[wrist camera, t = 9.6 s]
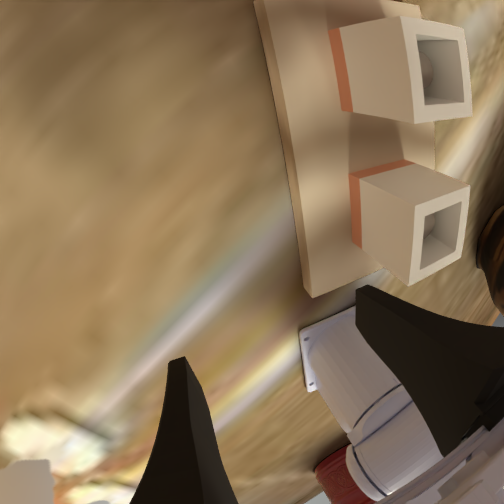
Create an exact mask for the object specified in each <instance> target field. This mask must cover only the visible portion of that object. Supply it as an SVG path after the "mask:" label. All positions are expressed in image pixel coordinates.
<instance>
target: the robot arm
mask: <svg viewBox="0 0 504 504" xmlns="http://www.w3.org/2000/svg"><path fill="white" fill-rule="evenodd" d="M299 338H300V345H301V352H302V360H303V367H304V375H305V383H306V389H307V391H308V392H312V391H314V390H318V391H319V393H320V394H321V396H322V398H323V399H324V401H325V402H326V404H327V406H328V407H329V409H330V410H331V412H332V414H333V415H334V417H335V418H336V420H337V422H338V423H339V425H340V426H341V428H342V429H343V430H344V431H345V432H346V433H348V434H347V437H348V438H349V440H350V442H351V443H352V444H351V445H349V446H348V447H347V450H346V464H347V468H348V470H349V472H350V474H351V476H352V478H353V479H354V481H355V482H356V484H357V485H358V487H359V488H360V489H361V490H362V491H363V492H364V493H365V494H366V495H367V496H368V497H370V498H371V499H373V500H375V501H377V502H376V503H374V504H504V489H503V488H502V487H503V486H504V327H494V326H485V325H478V324H473V323H468V322H463V321H459V320H455V319H452V318H448V317H445V316H441V315H438V314H436V313H433V312H430V311H427V310H425V309H422V308H420V307H417V306H415V305H412V304H410V303H408V302H406V301H403V300H401V299H399V298H397V297H395V296H392V295H390V294H388V293H386V292H384V291H382V290H379V289H377V288H375V287H373V286H370V285H365V286H363V287H361V288H359V289H357V290H356V306H354V307H351V308H349V309H347V310H345V311H343V312H340V313H338V314H336V315H334V316H331V317H329V318H327V319H325V320H322V321H320V322H318V323H315V324H313V325H311V326H308V327H306V328H304V329H302V330H301V331H300V333H299ZM130 504H238V502H237V499H236V497H235V495H234V492H233V490H232V487H231V485H230V482H229V480H228V477H227V475H226V472H225V470H224V467H223V464H222V461H221V457H220V454H219V450H218V445H217V441H216V437H215V433H214V429H213V424H212V420H211V416H210V411H209V408H208V405H207V402H206V399H205V396H204V393H203V390H202V387H201V385H200V383H199V381H198V380H197V378H196V376H195V374H194V372H193V371H192V369H191V367H190V365H189V363H188V361H187V359H186V358H185V356H184V357H181V358H178V359H175V360H172V361H170V362H169V363H168V374H167V383H166V391H165V397H164V403H163V409H162V414H161V418H160V423H159V427H158V432H157V435H156V439H155V443H154V446H153V449H152V452H151V455H150V458H149V461H148V464H147V466H146V469H145V472H144V474H143V477H142V479H141V481H140V483H139V485H138V487H137V490H136V492H135V494H134V496H133V498H132V500H131V502H130Z"/></svg>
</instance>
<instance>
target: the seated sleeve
mask: <svg viewBox="0 0 504 504" xmlns="http://www.w3.org/2000/svg"><path fill="white" fill-rule="evenodd" d="M348 178H349V190H350V205H351V224H352V242H353V243H354V244H356V245H357V246H358V247H359V248H361V249H362V250H363V251H365V252H366V253H367V254H368V255H370V256H371V257H372V258H373V259H375V260H376V261H377V262H378V263H380V264H381V265H382V266H383V267H385V268H386V269H387V270H388V271H390V272H391V273H392V274H393V275H395V276H396V277H397V278H398V279H399V280H401V281H402V282H403V283H404V284H405V285H407V286H408V287H409V286H411V285H413V284H414V283H416V282H418V281H420V280H422V279H424V278H426V277H427V276H429V275H431V274H433V273H435V272H436V271H438V270H440V269H442V268H444V267H445V266H447V265H449V264H451V263H452V262H454V261H456V260H457V259H459V258H461V254H462V248H463V242H464V236H465V229H466V222H467V214H468V205H469V195H470V185H469V184H466V183H464V182H462V181H459V180H457V179H455V178H452V177H450V176H447V175H445V174H442V173H440V172H437V171H435V170H432V169H430V168H427V167H424V166H422V165H419V164H416V163H414V162H411V161H408V160H405V159H403V160H399V161H395V162H391V163H387V164H383V165H379V166H375V167H371V168H368V169H364V170H360V171H356V172H353V173H349V174H348ZM432 213H434V215H435V224H434V227H433V229H432V231H431V233H430V234H429V235H428V236H427V237H426V238H425V239H423V233H424V220H425V216H427V215H429V214H432Z"/></svg>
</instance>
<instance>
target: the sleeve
mask: <svg viewBox="0 0 504 504" xmlns="http://www.w3.org/2000/svg"><path fill="white" fill-rule="evenodd" d="M328 35H329V40H330V45H331V50H332V55H333V60H334V66H335V71H336V77H337V83H338V90H339V96H340V103H341V110H342V111H347V112H354V113H360V114H366V115H372V116H378V117H383V118H388V119H393V120H398V121H403V122H408V123H412V124H418V123H425V122H432V121H439V120H446V119H454V118H462V117H471V116H472V95H471V81H470V71H469V62H468V54H467V46H466V40H465V34H464V28H461V27H457V26H453V25H449V24H444V23H439V22H434V21H429V20H424V19H418V18H412V17H405V16H396V17H389V18H383V19H378V20H373V21H367V22H363V23H358V24H353V25H349V26H345V27H340V28H336V29H332V30H328ZM418 51H420V52H423V53H424V54H426V55H427V56H428V58H429V59H430V61H431V63H432V67H433V79H432V82H431V84H430V85H429V86H428V87H426V88H423V82H422V74H421V66H420V58H419V52H418Z"/></svg>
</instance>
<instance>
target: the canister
mask: <svg viewBox="0 0 504 504" xmlns="http://www.w3.org/2000/svg"><path fill="white" fill-rule="evenodd" d="M351 444H352V443H351ZM351 444H349V445H351ZM349 445H347V446H345V447H343V448H341V449H340V450H338V451H336V452H335V453H333V454H332V455H330V456H329V457H327V458H326V459H325V460H323V461H322V462H321V463H320V464H319V465H318V466H317V467H316V469H315V471H314V472H315V475H316V479H317V480H318V483H319V484H320V485H321V486H322V488H323V490H324V492H325V494H326V496H327V497H328V499H329V501H330V503H331V504H374V503H376V502H377V501H375V500H373V499H371V498H370V497H368V496H367V495H366V494H365V493H364V492H363V491H362V490H361V489H360V488H359V487H358V485H357V484H356V482H355V481H354V479H353V478H352V476H351V474H350V472H349V470H348V468H347V464H346V450H347V447H348V446H349Z"/></svg>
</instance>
